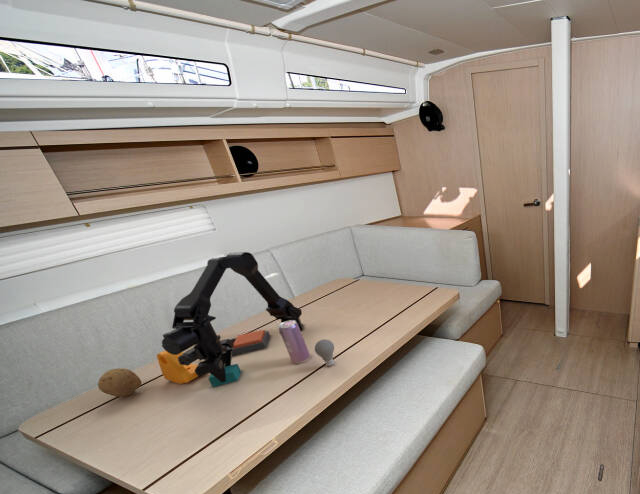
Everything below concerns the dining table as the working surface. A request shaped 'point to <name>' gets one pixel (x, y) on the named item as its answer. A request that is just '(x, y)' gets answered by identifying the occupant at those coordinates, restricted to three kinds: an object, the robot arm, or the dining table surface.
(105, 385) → the potato
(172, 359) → the bracket
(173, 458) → the dining table surface
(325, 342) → the light bulb
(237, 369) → the teal pad
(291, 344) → the beverage can
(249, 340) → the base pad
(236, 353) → the pad tray
